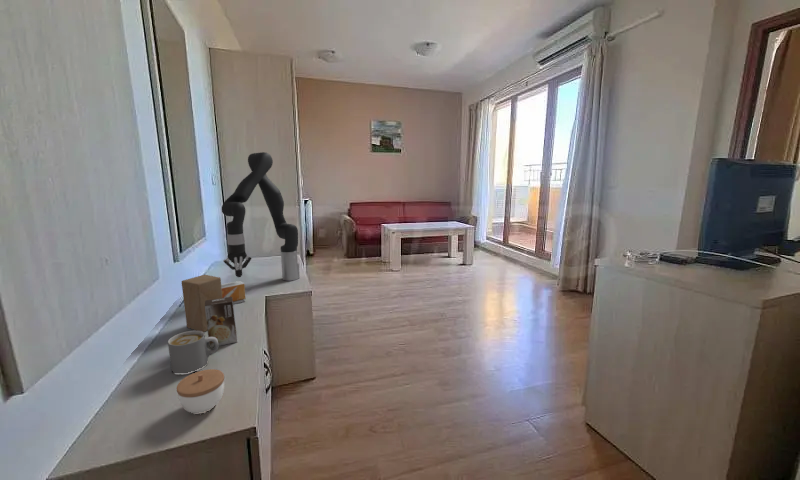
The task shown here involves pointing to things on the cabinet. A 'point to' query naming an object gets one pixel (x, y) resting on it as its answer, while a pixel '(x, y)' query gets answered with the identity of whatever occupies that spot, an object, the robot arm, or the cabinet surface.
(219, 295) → the wooden block
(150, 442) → the cabinet surface
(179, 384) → the lidded jar
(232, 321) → the coffee box
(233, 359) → the cabinet surface
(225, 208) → the robot arm
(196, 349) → the coffee mug
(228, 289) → the small box
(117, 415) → the cabinet surface
